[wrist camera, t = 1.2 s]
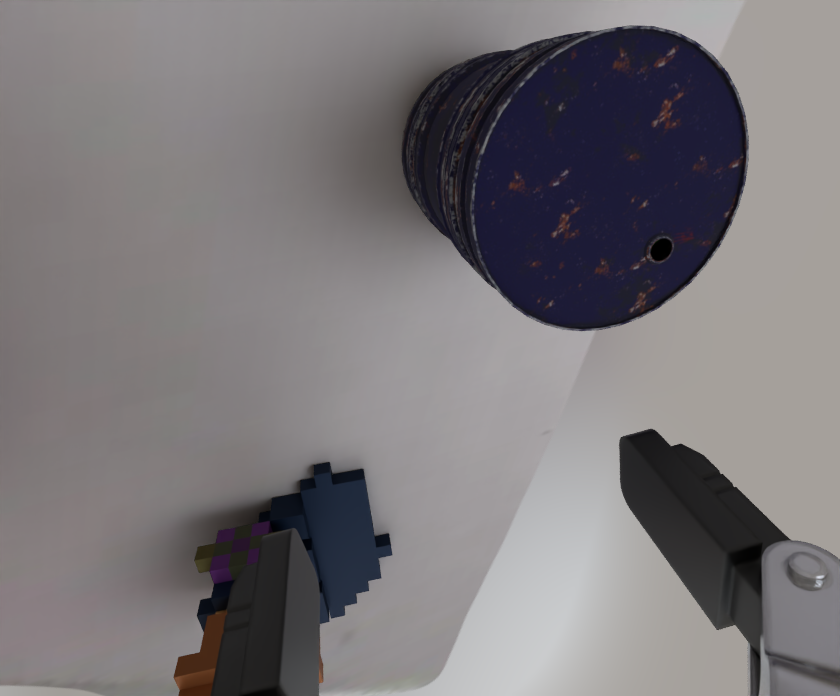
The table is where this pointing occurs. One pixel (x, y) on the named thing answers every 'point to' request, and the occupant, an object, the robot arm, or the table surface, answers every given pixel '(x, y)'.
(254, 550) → the blocky voxel figure
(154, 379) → the table surface
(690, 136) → the navy blue cylinder
